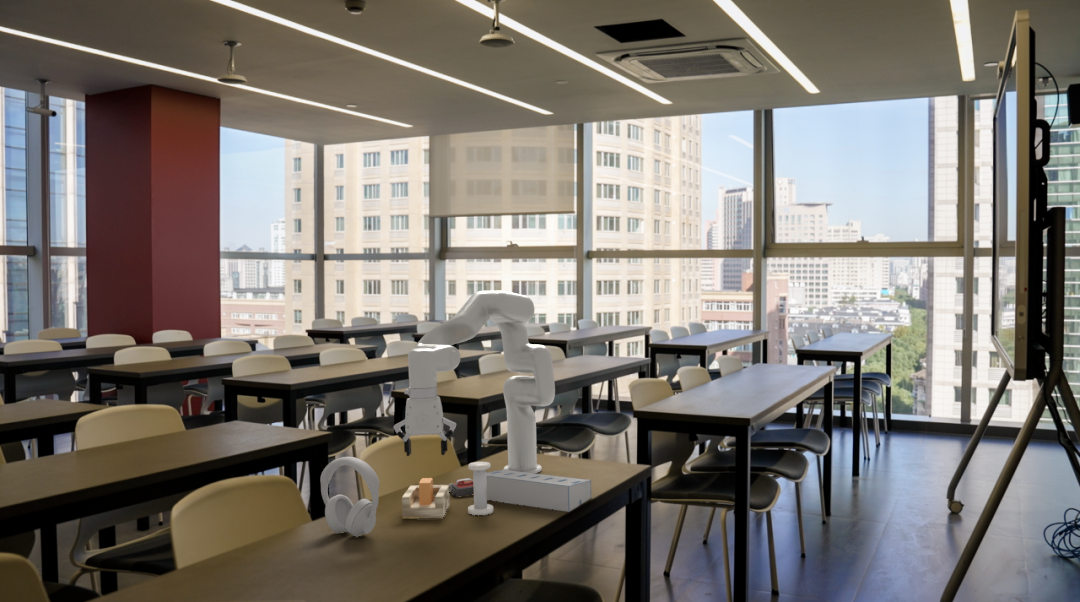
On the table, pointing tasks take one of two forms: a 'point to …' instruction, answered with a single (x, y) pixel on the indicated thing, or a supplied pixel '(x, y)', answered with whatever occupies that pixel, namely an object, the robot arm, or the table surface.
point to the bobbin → (480, 489)
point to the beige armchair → (426, 511)
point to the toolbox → (462, 487)
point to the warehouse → (537, 490)
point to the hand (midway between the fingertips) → (426, 454)
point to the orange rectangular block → (426, 491)
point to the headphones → (341, 508)
